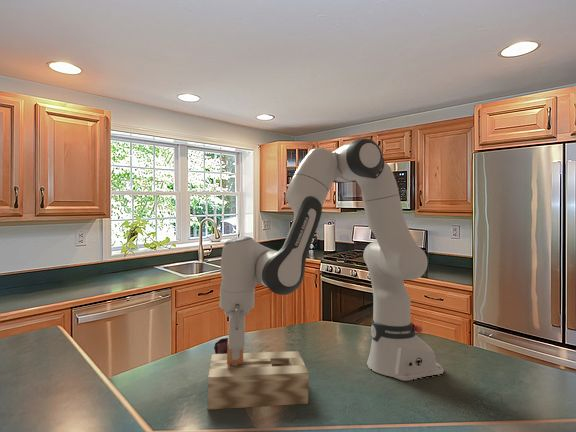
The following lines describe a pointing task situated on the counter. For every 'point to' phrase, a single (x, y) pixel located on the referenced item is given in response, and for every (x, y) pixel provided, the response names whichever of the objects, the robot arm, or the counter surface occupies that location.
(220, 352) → the icecream
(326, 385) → the counter surface
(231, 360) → the wooden block
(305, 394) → the keyhole plate
